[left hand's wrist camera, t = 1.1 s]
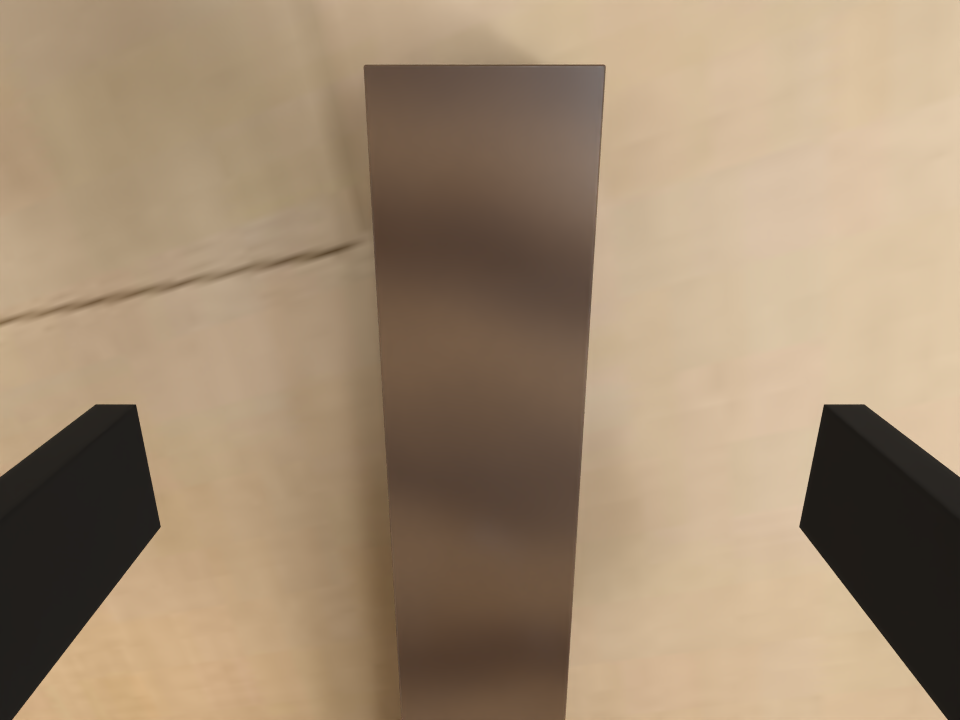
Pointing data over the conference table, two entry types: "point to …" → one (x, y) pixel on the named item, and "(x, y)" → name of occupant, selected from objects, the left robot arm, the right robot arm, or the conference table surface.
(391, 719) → the conference table surface
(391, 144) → the beam
